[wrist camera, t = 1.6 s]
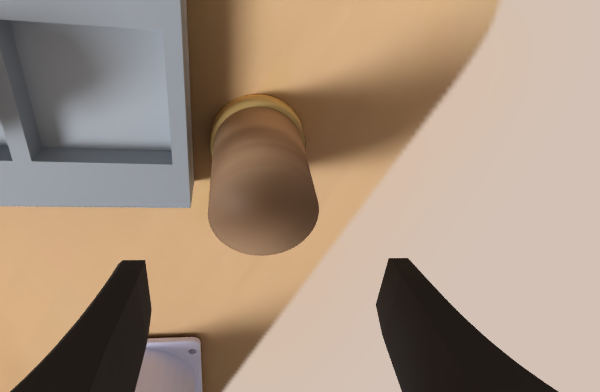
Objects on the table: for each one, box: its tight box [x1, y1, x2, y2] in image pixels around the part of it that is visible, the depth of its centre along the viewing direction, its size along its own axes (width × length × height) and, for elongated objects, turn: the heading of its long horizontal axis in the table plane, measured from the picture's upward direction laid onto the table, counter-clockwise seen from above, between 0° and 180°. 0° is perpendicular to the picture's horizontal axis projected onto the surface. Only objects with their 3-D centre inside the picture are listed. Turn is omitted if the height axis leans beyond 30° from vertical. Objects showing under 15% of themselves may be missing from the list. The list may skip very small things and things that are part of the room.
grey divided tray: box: [0, 0, 194, 208], centre depth 17 cm, size 10×13×2 cm
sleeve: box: [208, 94, 319, 256], centre depth 19 cm, size 4×4×6 cm
